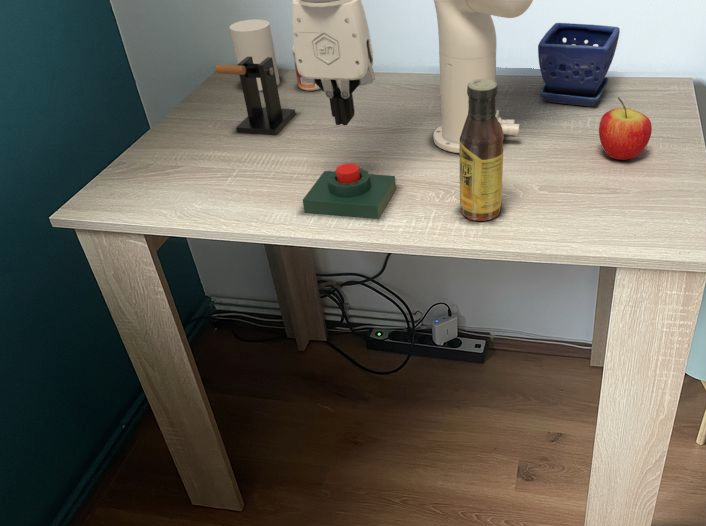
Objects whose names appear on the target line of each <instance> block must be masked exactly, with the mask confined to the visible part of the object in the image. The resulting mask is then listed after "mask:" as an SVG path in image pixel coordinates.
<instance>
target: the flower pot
mask: <svg viewBox="0 0 706 526" xmlns="http://www.w3.org/2000/svg"><path fill="white" fill-rule="evenodd" d="M620 30H621V29H620V27H618V26H611V25H601V24H586V23H570V22H555V23H554V24H553V25H552V26H551V27H550V28H549V29H548V30H547V32H545V34H544V35H543V36H542V38H541V39H540V41H539V43H538V44H537V56H538V57H537V58H538V64H539V70H540V74H541V77H542V80H543V83H544V85H543V87H542V88H541V90H540V92H539V95H540V97H541V98H542V99H543V100H544V101H545V102H548V103H556V104H564V105H572V106H573V105H574V106H583V107H593V106H594V105H596V103H598V101H599V100H600V97H601V96H602V94H603V93H604V91H605V89H606V87H607V85H608V83H609V77H606V76H607V74H608V72H609V70H610V67H611V65H612V62H613V59H614V57H615V53H616V50H617V46H618V44H619V43H618V42H619V37H620V33H621V31H620ZM564 39H566V40H565V41H564ZM586 41H587V42H586Z"/></svg>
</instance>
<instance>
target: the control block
mask: <svg viewBox="0 0 706 526" xmlns="http://www.w3.org/2000/svg"><path fill="white" fill-rule="evenodd" d="M359 171H360V180H358V181H356V182H353V183H340V182H338V181H337V176H336V170H334V171H333V170H332V171H330V170H323V172H322V173H321V175H320V176H319V177H318V179H317V180H316V181H315V183H314V184H313V185H312V186H311V188H310V189H309V191H307V193H306V195H305V196H303V199H302V205H303V211H304V213H306V214H307V213H308V214H318V215H331V216H341V217H343V216H344V217H354V218H367V219H380V217H381V215H382V213H383V212H384V210H385V208H386V206H387V204H388V203H389V201H390V200H391V198H392V196H393V195H394V193H395V191H396V189H397V184H396V176H395V175H389V174H375V173H369V172H368V170H365V169H363V168H361V167H359Z"/></svg>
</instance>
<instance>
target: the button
mask: <svg viewBox="0 0 706 526" xmlns="http://www.w3.org/2000/svg"><path fill="white" fill-rule="evenodd" d="M359 168H360V166H359V165H358V164H355V163H350V162H349V163H342V164H339V165H338V166H336V168H335V171H336V176H337V181H338V182H340V183H353V182H356V181H358V180H360V171H359Z"/></svg>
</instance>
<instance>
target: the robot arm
mask: <svg viewBox="0 0 706 526" xmlns="http://www.w3.org/2000/svg"><path fill="white" fill-rule="evenodd" d="M533 2H534V0H433V4H434V8H435V13H436V20H437V30H438V32H437V33H438V57H439V59H438V60H439V61H438V63H439V87H440V89H439V91H440V92H439V93H440V114H441V116H440V117H441V118H440V120H441V125H440V126H438V127H437V128H436V129H435V130H434V132H433V134H432V137H433V143H434V145H435V146H437V147H438V148H439V149H442V150H443V151H446V152H450V153H454V154H460V148H459V146H460V136H461V133H462V130H463V127H464V124H465V121H466V118H467V115H468V109H469V103H468V100H469V97H468V95H467V86H468V84H469V83H470V82H471V81H473V80H476V79H489V80H493V81H495V82H496V83H497V33H496V27H495V24H494V20H493V18H492V16H494V17H497V18H498V17H500V18H507V19H514V18H517V17H520V16H522V15H524V14H525V12H527V10H528V9H529V8H530V7H531V5H532V4H533ZM291 22H292V24H291V25H292V26H291V27H292V41H293V45H294V52H295V60H296V66H297V70H298V72H299V74H300V75H301V78H302V80H303V81H305V82H309V83H312V84H316V85H317V86H318V87H320V88H321V89H320V90H322V91H323V93H324V95H325V96H326V98H327V99H329V106H330V111H331V116H332V118H334V122H335V126H341V125H342V126H348V125H349V124H350V122H351V120H353V118H354V116H355V104H354V97H353V93H354V92H355V90H356V89H357V88H358V87H360V86H366V85H370V84H373V82H374V81H375V80H376V74H375V71H374V68H373V65H374V54H373V53H374V51H373V45H372V39H371V33H370V29H369V23H368V19H367V15H366V11H365V8H364V5H363V1H362V0H292V3H291ZM300 61H301V62H300ZM339 81H340V85H339ZM495 116H496V118H497V120H498V122H500V125H501V127H502V130H503V140H504V138H505V135H508V136H518V137H519V136H520V130H521V123H516V119H511V118H510V119H503V117H500V109H496V115H495Z"/></svg>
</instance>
